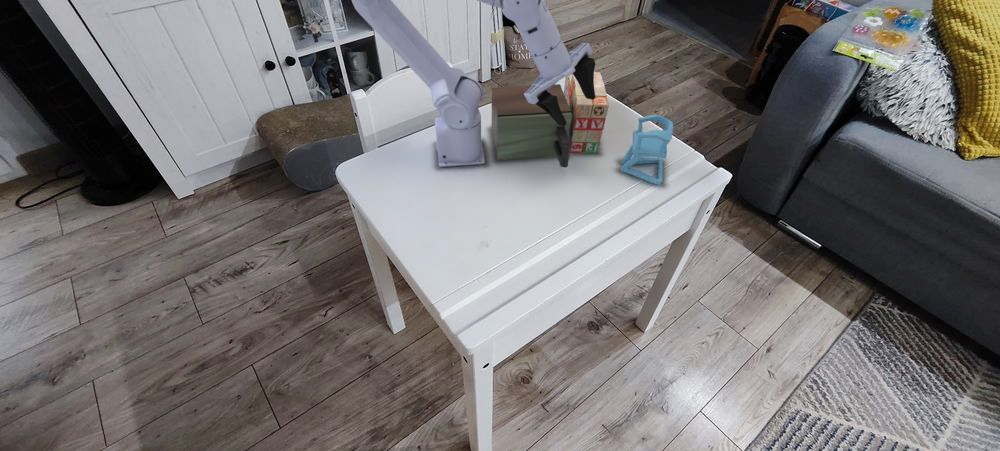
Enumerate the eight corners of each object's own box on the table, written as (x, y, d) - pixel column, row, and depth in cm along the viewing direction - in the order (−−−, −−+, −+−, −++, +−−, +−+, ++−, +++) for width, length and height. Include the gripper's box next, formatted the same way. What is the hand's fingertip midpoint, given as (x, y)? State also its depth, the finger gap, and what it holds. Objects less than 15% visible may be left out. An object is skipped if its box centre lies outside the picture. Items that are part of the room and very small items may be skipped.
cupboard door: (572, 177, 93) (580, 135, 85) (501, 182, 91) (502, 140, 83) (564, 153, 98) (571, 112, 90) (497, 157, 96) (497, 116, 88)
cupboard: (564, 153, 98) (570, 110, 90) (496, 157, 96) (497, 115, 89) (554, 125, 105) (560, 84, 97) (491, 129, 103) (491, 87, 95)
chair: (621, 155, 98) (635, 106, 89) (661, 161, 97) (678, 113, 88) (619, 178, 93) (633, 129, 84) (661, 185, 92) (679, 136, 83)
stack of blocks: (562, 98, 112) (568, 50, 103) (587, 98, 112) (596, 51, 103) (569, 153, 98) (577, 103, 89) (598, 154, 98) (609, 104, 89)
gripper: (527, 75, 72) (562, 140, 80) (591, 20, 74) (618, 88, 82) (505, 71, 78) (539, 132, 86) (565, 20, 80) (593, 84, 88)
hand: (576, 111), depth 84 cm, fingers open, 7 cm apart
